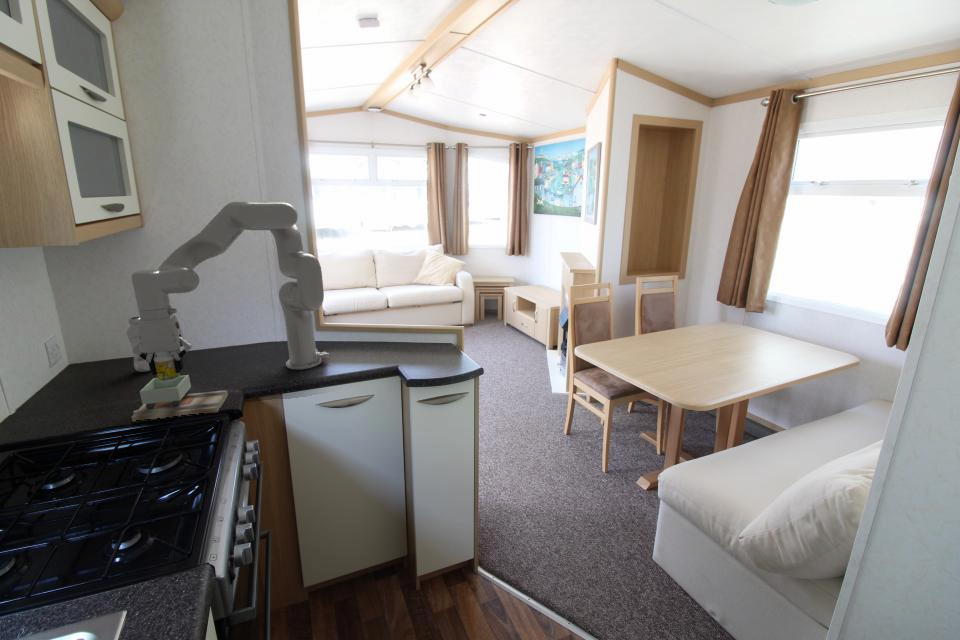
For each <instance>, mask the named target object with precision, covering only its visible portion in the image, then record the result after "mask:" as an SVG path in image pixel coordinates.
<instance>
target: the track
mask: <svg viewBox="0 0 960 640" xmlns="http://www.w3.org/2000/svg"><path fill="white" fill-rule="evenodd" d="M228 395H229V392H228V390H225V389H224V390H216V391H207V392H205V391H204V392H196V393H195V392H194V393H188V394H187V395H184V396H183V397H182V399H181V400H180V402H181V403H180V404H179V406H177V407H174V406H172V401H169V402H159V403H155V406H154V408H153V409H147V408H146V404H142V405H141V406H140V407H139V409H135V410H133V411H132V412H133V415H131V419H132V420H131V421H132V422H137V421H136V420H142V421H145V420H144V419H151V420H158V419H157V418H160V419H167V418H166V417H169V418H174V417H173V416H178V417H182V416H181V415H187V416H189V415H188V414H196V415H200V414H199V413H204V414H213V413H219V411H220V409H221V407H222V406H223V404H224V403H225V400H226V399H227V397H228ZM219 408H220V409H219ZM218 410H219V411H218Z"/></svg>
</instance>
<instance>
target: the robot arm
mask: <svg viewBox="0 0 960 640" xmlns="http://www.w3.org/2000/svg"><path fill="white" fill-rule="evenodd" d="M298 218H299V217H298V212H297V210H296V209H295V207H294V206H293V205H292V204H290V203H287V202H280V201H263V202H252V201H250V202H249V201H231V202H228V203H227V204H225V205H224V206H223V207H222V209H220V210H219V212H218V213H217V214H216V215H215V216H214V217H213V218H212V219H211V220H210V221H209V222H208V223H207V224H206V225H205V226H204V228H203V229H202V230H201V231H199V232H198V234H196V235H194V236H193V237H192V238H190V239H188V240H187V241H186V242H184V243H183V244H181V245H180V246H179V247H177V248H176V249H175V250H174V251H172V253H171V254H170V255H168V256H167V258H166V259H165V260H164V261H163V262H162V263H161V264H160V266H159V267H158V268H157V269H142V270H137V271H135V272H133V273H132V274H131V283H132V287H133V292H134V296H135V300H136V306H137V310H138V314H139V315H138V316H139V317H140V319H139V320H138V339H139V343H138V345H137V346H136V347H135V348H134V350H132V354H133V353H134V354H136V355H138V356H140V357H141V358H143V359H144V360H146V362H147V363H149V367H150V373H152V376H157V372H156V367H155V363H154V358H155V357H156V354H155V353H157V352H171V353H172V354H173V356H174V357H175V361H174V364H175V369H176V373H179V374H180V373H181V372H182V371H183V370H184V368H185V367H184V366H185V365H184V362H183V357H184V356H185V355H186V354H187V353H188V352H189V351H190V350H191V349H192V348H193V344H192V343H190V342H189V341H187V339H185V337H184V335H183V331H182V328H181V325H180V322H179V320H178V318H177V315H173V314H176V313H177V312H178V310H177V308H174V307H173V308H172V305H171V303H170V298H169V294H170V295H171V294H187V293H190V292H193V291H194V290H195V289H197V288H198V286H199V285H200V277H199V274H198V273H197V272H196V271H195V270H194V269H195V268H196V267H197V266H199V265H200V264H201V263H203V262H205V261H206V260H209V259H213V258H215V257H218V256H220V255H222V254H224V253H225V252H226V251H227V250H228V249H229V248H230V247H231V246H232V245H233V244H234V242H235V241H236V240H237V239H238V238H239V237H240V236H241V235H242V234H243V232H244V231H270V233H271V234H272V236H273V238H274V240H275V241H274V242H275V245H276V253H277V261H278V267H279V271H280V273H281V274H282V275H283V276H284V277H287V278H289V279H294V280H290V281H286V282H285V283H283V284H282V285H281V287H280V288H279V291H278V299H279V303H280V306H281V308H282V312H283V317H284V324H285V332H286V333H285V334H286V339H287V348H288V356H289V359H288V360H287V361H286V362H285V367H286V368H288V369H290V370H300V371H301V370H307V369H311V368H315V367H317V366H319V365H320V364H321V363H322V359H329V358H330V353H329V352H326V351H322V352H320V351H318V348H317V347H316V339H315V330H314V321H313V320H314V319H313V315H312V312H313V311H314V312H315V311H317V310H319V309H320V308H321V306H322V305H323V302H324V297H325V294H324V283H323V271H322V266H321V263H320V261H319V260H318V258H317V257H315V255H313V254H311V253H307V252H305V251H304V246H303V241H302V235H301V232H300V230H299V228H298V226H297V225H296V223H297V222H298ZM181 347H184V348H183V349H182V350H181Z"/></svg>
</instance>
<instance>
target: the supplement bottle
mask: <svg viewBox="0 0 960 640" xmlns="http://www.w3.org/2000/svg"><path fill="white" fill-rule="evenodd" d="M174 361H175V357H174V356H173V354H172V353H171V352H157V353H155V358H154V363H155V367H156V372H157V374H156V376H157V378H158V380H159V381H160V382H171V381H174V380H177V379H178V378H179V377H180V376H181V375H180V373H176V369H175V364H174Z"/></svg>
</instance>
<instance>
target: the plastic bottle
mask: <svg viewBox="0 0 960 640" xmlns="http://www.w3.org/2000/svg"><path fill="white" fill-rule="evenodd" d="M139 319H140V316H133V317H128V324H129V325H130V326H129V327H128V328H127V331H126V336H127V339H128V341H129V343H130V346H131V350H132V351H133V350H134V348H135V347H136V346H137V345H138V343H139V339H138V320H139ZM132 354H133V355H132V356H133V367H134V370H135V371H137V372H139V373H147V372H149V371H150V367H149V363H147V362H146V360H144V359H143V358H141V357H140V356H138V355H136V354H134V353H133V352H132ZM150 372H151V371H150Z"/></svg>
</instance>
